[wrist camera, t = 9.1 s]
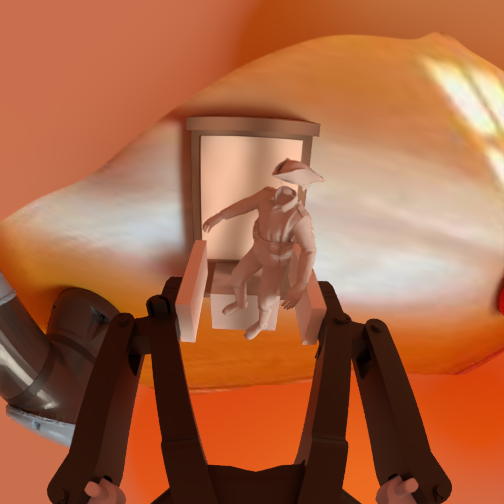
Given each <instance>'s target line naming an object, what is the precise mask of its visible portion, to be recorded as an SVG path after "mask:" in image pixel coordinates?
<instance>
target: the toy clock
mask: <svg viewBox="0 0 504 504" xmlns="http://www.w3.org/2000/svg"><path fill="white" fill-rule="evenodd" d="M499 310H500V312H501V313H502V314H503V315H504V287H503V289H502V292H501V295H500V299H499Z"/></svg>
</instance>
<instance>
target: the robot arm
mask: <svg viewBox="0 0 504 504" xmlns="http://www.w3.org/2000/svg"><path fill="white" fill-rule="evenodd" d="M300 253H301V248H300V246H299V244H294V246H293V250H292V255H291V262H290V269H289V275H288V277H289V282H290V287H292V286H294V285H295V284H296V281H297V280H296V279H297V269H298V264H299V256H300ZM207 275H208V267H207V240H195V243H194V246H193V249H192V252H191V255H190V258H189V261H188V264H187V267H186V270H185V273H184V277H170V278H169V279H168V280H167V281H166V283H165V286H164V288H163V291H162V294H161V295H155V296H152V297H151V298H149V299H148V300H147V303H146V307H147V311H148V315H149V316H147V317H143V318H136V319H134V317H133V315H131V314H130V313H120V312H119V311H118V310H117V309H116V308H115V307H114V306H113V305H111V304H110V303H109V302H108V301H106V300H105V299H103V298H102V297H100V296H99V295H97V294H95V293H93V292H90V291H87V290H84V289H79V288H70V289H66V290H64V291H63V292H61V294H60V295H59V296H58V298H57V299H56V300H55V302H54V304H53V306H52V310H51V316H50V319H49V323H48V327H47V332H46V334H44V333H43V331H42V330H41V329H40V328H39V326H38V325H37V324H36V322H35V321H34V320H33V318H32V317H31V315H30V314H29V313H28V311H27V310H26V308H25V307H24V305H23V304H22V302H21V301H20V299H19V298H18V296H17V295H16V293H17V292H16V290H15V289H13V288H12V287H11V285H10V284H9V282H8V281H7V279H6V278H5V276H4V275H3V273H2V272H1V270H0V396H1V397H2V398H3V399H4V400H6V401H7V402H8V405H6V414H7V415H8V416H9V417H10V418H11V419H12V420H14V421H15V422H16V423H18V424H20V425H21V426H23V427H24V428H26V429H28V430H30V431H32V432H33V433H35V434H37V435H40V436H41V437H43V438H45V439H48V440H50V441H52V442H55V443H57V444H60V445H62V446H66V447H69V448H70V450H69V453H68V455H67V457H66V458H65V460H64V461H63V463H62V464H61V466H60V467H59V469H58V470H57V472H56V474H55V475H54V477H53V478H52V480H51V481H50V483H49V485H48V488H47V494H48V497H49V499H50V501H51V502H52V503H53V504H125V502H126V498H125V495H124V493H123V491H122V490H121V489H120V488H119V486H120V483H121V480H122V476H123V471H124V464H125V456H126V449H127V443H128V436H129V429H130V424H131V418H132V412H133V408H134V402H135V397H136V392H137V388H138V383H139V378H140V374H141V369H142V365H143V361H144V356H145V354H151V358H152V369H153V379H154V388H155V396H156V403H157V411H158V417H159V424H160V430H161V435H162V442H161V449H162V454H163V459H164V464H165V469H166V473H167V478H168V482H169V486H170V488H168V490H166V491H165V492H164V493H163V494H161V495H160V496H159V497H158V498H157V499H156V500H154V501H153V502H152V503H151V504H361V503H360V502H359V501H357V500H356V499H355V498H353V497H352V496H351V495H350V494H348V493H347V492H346V491H345V490H343V489H342V486H343V480H344V474H345V467H346V461H347V454H348V442H347V441H346V439H345V435H346V425H347V417H348V406H349V393H350V377H351V359H352V362H353V366H354V370H355V374H356V378H357V383H358V387H359V391H360V395H361V399H362V404H363V409H364V413H365V418H366V422H367V428H368V433H369V438H370V443H371V449H372V454H373V460H374V466H375V471H376V475H377V479H378V481H379V484H380V486H381V487H380V488H379V490H378V492H377V496H376V501H377V503H378V504H441V503H443V502H444V501H446V500H447V499H448V497H449V496H450V494H451V491H452V484H451V482H450V480H449V478H448V477H447V475H446V474H445V472H444V471H443V469H442V468H441V466H440V465H439V463H438V462H437V460H436V459H435V457H434V456H433V454H432V453H431V451H430V447H429V443H428V440H427V436H426V433H425V429H424V426H423V422H422V419H421V416H420V413H419V409H418V406H417V403H416V400H415V397H414V394H413V392H412V389H411V386H410V383H409V380H408V378H407V375H406V372H405V369H404V367H403V364H402V362H401V359H400V357H399V354H398V352H397V349H396V347H395V344H394V342H393V339H392V337H391V335H390V332H389V330H388V327H387V326H386V324H385V323H384V322H382V321H381V320H378V319H369V320H368V321H367V322H366V324H361V323H356V322H353V321H352V320H351V318H350V317H349V315H347V314H346V313H343V310H342V308H341V305H340V303H339V300H338V298H337V295H336V293H335V290H334V288H333V286H332V285H331V284H330V283H329V282H328V281H317V279H316V276H315V273H314V270H313V268H312V272H311V275H310V278H309V282H308V285H306V287H305V290H304V292H303V293H302V296H301V299H300V301H299V302H298V303H297V304H296V306H295V310H296V315H297V320H298V325H299V330H300V335H301V340H302V345H315V344H316V342H317V339H318V340H319V347H318V350H317V353H316V356H315V358H316V363H315V370H314V376H313V381H312V387H311V392H310V398H309V403H308V409H307V413H306V418H305V423H304V428H303V432H302V436H301V441H300V445H299V449H298V454H297V456H296V459H295V462H294V464H293V465H281V466H277V467H274V468H270V469H266V470H262V471H258V472H254V471H249V470H244V469H240V468H236V467H232V466H220V465H208V463H207V460H206V457H205V454H204V450H203V446H202V443H201V439H200V435H199V432H198V428H197V424H196V420H195V416H194V412H193V408H192V404H191V399H190V394H189V390H188V385H187V380H186V375H185V370H184V365H183V360H182V355H181V349H180V344H179V339H180V336H181V341H184V342H195V340H196V334H197V328H198V323H199V317H200V312H201V306H202V301H203V296H204V290H205V285H206V280H207Z"/></svg>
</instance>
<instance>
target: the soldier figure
mask: <svg viewBox="0 0 504 504" xmlns="http://www.w3.org/2000/svg"><path fill="white" fill-rule="evenodd" d="M272 175H273V176H274V177H276V178H278V179H280V180H283V181H285V182H288V183H291V184H297V185H300V186H302V190H303V192H304V190H306V189H307V188H308V186H309V184H311V183H315V182H322V181H325V180H324V179H323V178H322V177H321V176H320V175H318V174H317V173H315V172H314V171H313V170H312V169H311V168H310V167H308V166H307V165H305V164H303V163H301V162H299V161H296V160H290V159H289V158H286V160H284V161H283V162H281V163H279V164H278V165H277V166H276V167H275V169H274V171H273V173H272ZM281 184H282V182H281ZM299 192H300V191H299ZM297 194H298V193H296V191H295V190H293V189H291V188H290V187H288V186H281V187H279V188H278V189H275V188H272V187H269V186H267V187H264V188H263V189H262V190H260V191H259V192H257V193H256V194H253V195H252V196H250V197H247V198H244V199H242V200H240V201H238V202H236V203H234V204H232V205H231V206H229V207H227V208H225V209H223V210H221V211H220V213H217V214H215V215H214V216H212V217H210V218H209V219H207V220H206V221H205V222H204V223H203V226H202V228H203V229H202V230H204V229H205V230H204V232H206V230H207V228H208V227H209V226H210V227H209V229H208V233H209V232H210V230H211V228H212V227H213V226H215V225H216V224H218V223H219V222H220V221H221V220H222V219H225V220H227V219H230V218H233V217H236V216H238V215H243V214H246V213H248V212H250V211H253V210H255V209H258V212H259V213H258V214H259V217H258V218H257V219H256V221H255V223H254V226H253V232H252V235H253V239H254V243H253V247H252V248H251V249H250V250H249V251H248V253H247V254H246V255H245V256H244V257H243V258H242V259H241V260H240V262H239V263H238V264H237V266H236V267H235V268H234V270H233V271H232V278H231V282H230V284H231V286H232V287H233V290H234V292H235V297H236V301H235V302H233V303H231V304H229V305H227V306H226V307H225V308H224V309H223V310H222V313H223V314H224V315H225V316H230V315H233V314H234V313H235V312H236V311H237V310H239V309H245V308H246V307H247V305H248V302H247V299H246V298H247V295H246V281H247V280H250V279H251V277H252V275H253V274H255V273H257V272H258V271H259V270H260V269H262V275H261V282H260V286H259V289H258V298H257V302H258V306H257V307H258V309H259V321H257V322H256V323H255V324H253V325H252V326H250V327H249V328H248V329H247V330H246V332H245V334H244V336H245V338H247V339H249V340H250V339H253V338H254V337H256V335H257V334H258V333H259V332H260V331H261V330H262V329H265V328H267V326H268V319H269V316H270V314H271V312H272V305H273V304H274V302H275V300H276V294H277V292H278V290H279V287H280V285H281V282H282V279H283V277H284V274H285V271H286V267H287V264H288V263H289V262H290V260H291V253H292V250H293V246H294V241H292V240H293V238H294V237H296V239H297V242H298V244H299V246H300V248H301V253H300V256H299V264H298V269H297V279H296V280H297V281H296V284H295V285H294V286H292V287H291V288H289V289H287V290H286V291H285V292H284V294H283V295H285V294H287V293H289V294H288V297H287V298H286V300H285V301H284V302H283V303H282V304H281V306H284V305H285V304H286V303H287V302H288V301H289V300H290V299H291V300H290V301H289V302H288V303H287V304H286V305H285V306H284V309H285V308H287V310H288V309H290V308H293V307H294V306H296V304H297V303H298V302H299V301H300V299H301V296H302V293H303V292H304V290H305V287H306V285H308V282H309V278H310V275H311V272H312V268H313V264H314V260H315V255H316V247H315V240H314V235H313V232H312V230H313V228H312V221H311V216H310V215H309V213H308V212H307V211H306V210H305V208H304V207H303V205H302V201H301V200H298V196H297ZM301 194H302V193H301ZM302 195H303V194H302ZM205 227H206V228H205ZM291 303H292V304H291ZM290 304H291V305H290ZM289 305H290V306H289ZM288 306H289V307H288Z"/></svg>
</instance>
